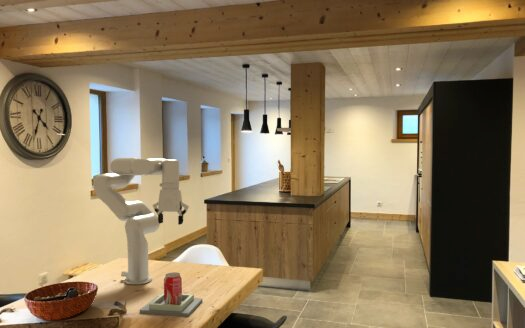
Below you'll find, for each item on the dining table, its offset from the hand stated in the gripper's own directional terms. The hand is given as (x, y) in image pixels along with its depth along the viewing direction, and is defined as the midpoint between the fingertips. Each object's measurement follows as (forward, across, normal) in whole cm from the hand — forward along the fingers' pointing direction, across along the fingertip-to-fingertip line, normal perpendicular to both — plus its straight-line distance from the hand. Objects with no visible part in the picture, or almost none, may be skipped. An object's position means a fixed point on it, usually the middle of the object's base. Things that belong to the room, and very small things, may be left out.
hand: (170, 223), depth 189 cm
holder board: (+29, +11, -22) cm, 38 cm away
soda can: (+28, +11, -22) cm, 38 cm away
